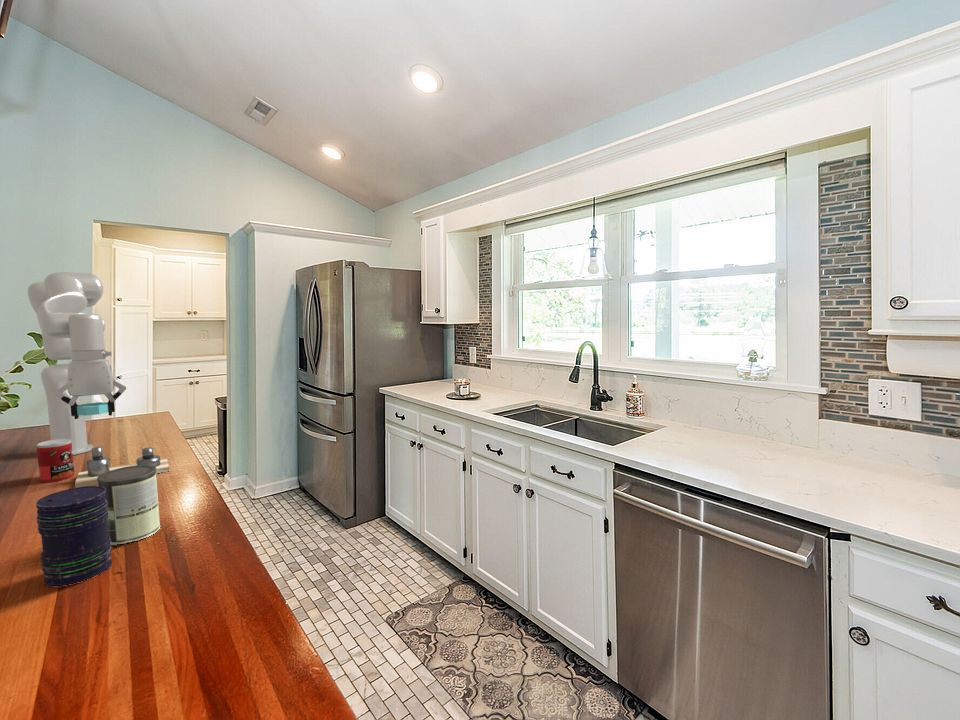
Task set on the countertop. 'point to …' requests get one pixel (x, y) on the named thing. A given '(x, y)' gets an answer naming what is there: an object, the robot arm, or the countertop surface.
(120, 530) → the coffee can
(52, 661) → the countertop surface
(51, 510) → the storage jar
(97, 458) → the stand
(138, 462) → the knob
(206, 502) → the countertop surface
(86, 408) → the teal octagonal collar
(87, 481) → the base board
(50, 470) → the canned food
